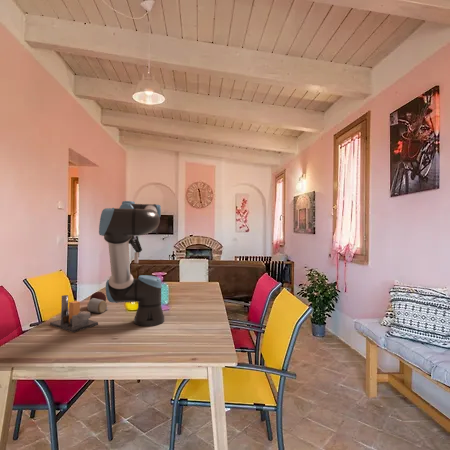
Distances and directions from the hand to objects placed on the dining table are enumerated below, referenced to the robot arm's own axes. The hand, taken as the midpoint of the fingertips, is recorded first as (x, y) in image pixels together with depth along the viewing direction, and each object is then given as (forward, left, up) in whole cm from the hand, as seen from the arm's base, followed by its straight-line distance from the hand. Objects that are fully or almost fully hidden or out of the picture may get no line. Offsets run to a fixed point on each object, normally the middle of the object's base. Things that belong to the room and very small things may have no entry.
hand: (127, 264), depth 177 cm
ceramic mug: (+11, +11, -27) cm, 31 cm away
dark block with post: (+1, +32, -27) cm, 42 cm away
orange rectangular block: (+1, +32, -26) cm, 41 cm away
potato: (+19, +5, -27) cm, 33 cm away
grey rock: (-7, +32, -26) cm, 41 cm away
